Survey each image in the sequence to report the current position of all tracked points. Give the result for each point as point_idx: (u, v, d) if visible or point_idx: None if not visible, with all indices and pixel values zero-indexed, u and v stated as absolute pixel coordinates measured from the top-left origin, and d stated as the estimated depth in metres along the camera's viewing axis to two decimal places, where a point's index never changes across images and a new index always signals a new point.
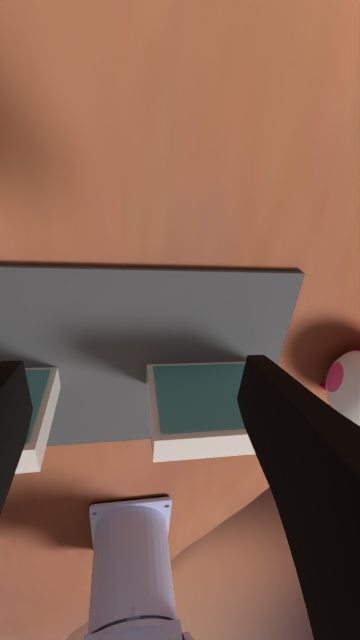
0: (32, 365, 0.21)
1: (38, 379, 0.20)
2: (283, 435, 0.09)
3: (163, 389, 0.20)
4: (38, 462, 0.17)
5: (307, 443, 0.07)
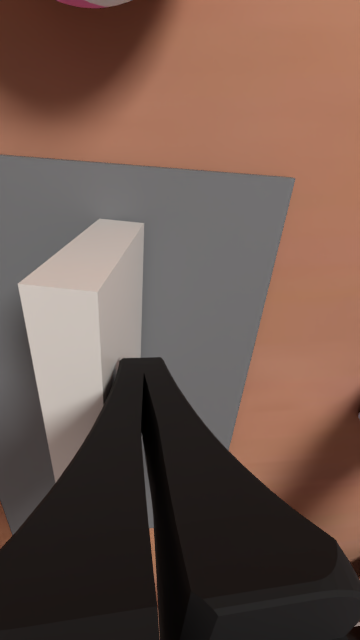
0: None
1: None
2: (153, 444, 0.08)
3: None
4: None
5: (159, 454, 0.07)
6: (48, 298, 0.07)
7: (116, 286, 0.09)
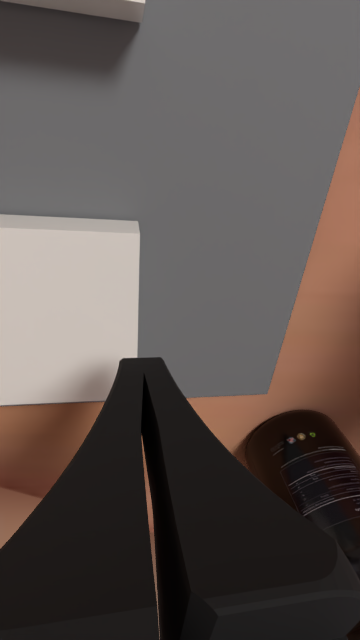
0: None
1: None
2: (153, 444, 0.08)
3: None
4: None
5: (159, 454, 0.07)
6: None
7: None
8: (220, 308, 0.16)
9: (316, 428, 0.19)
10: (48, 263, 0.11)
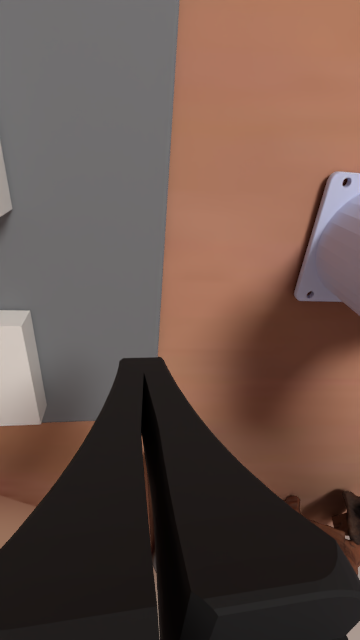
0: None
1: None
2: (153, 444, 0.08)
3: None
4: None
5: (159, 454, 0.07)
6: None
7: None
8: (102, 361, 0.22)
9: None
10: None
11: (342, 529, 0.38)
